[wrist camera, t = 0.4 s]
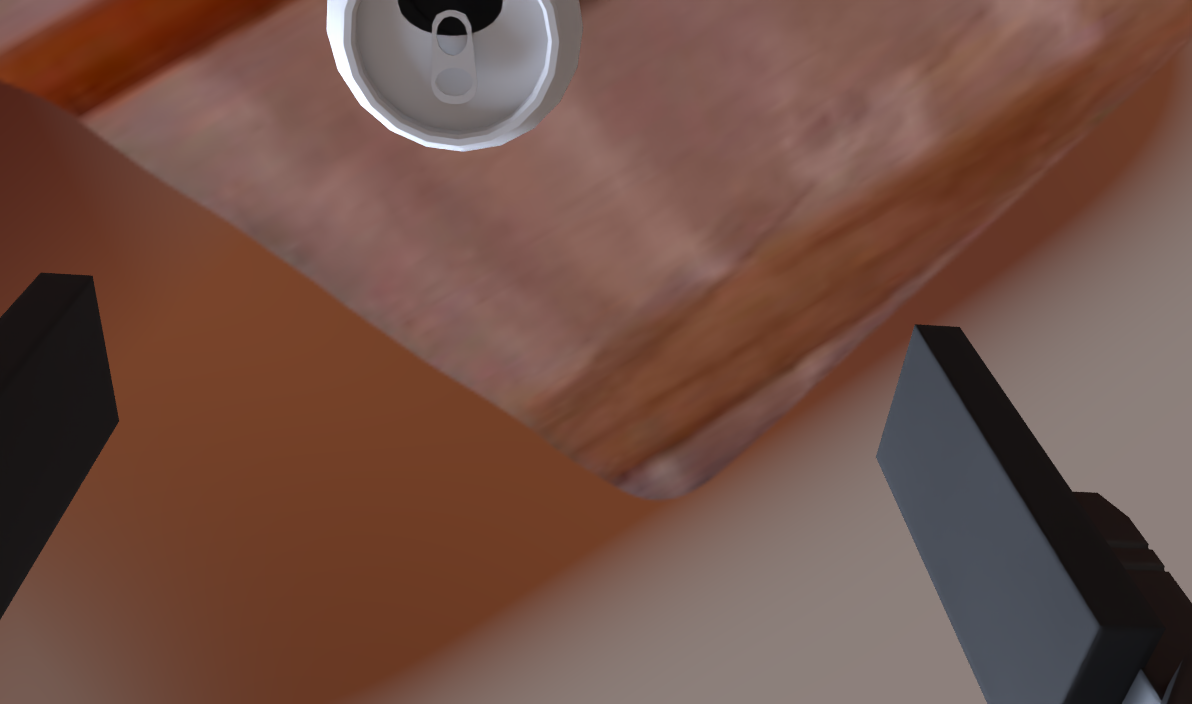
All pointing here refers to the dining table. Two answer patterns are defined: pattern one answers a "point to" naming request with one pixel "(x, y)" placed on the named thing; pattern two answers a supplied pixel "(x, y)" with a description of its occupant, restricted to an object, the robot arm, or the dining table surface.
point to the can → (456, 64)
